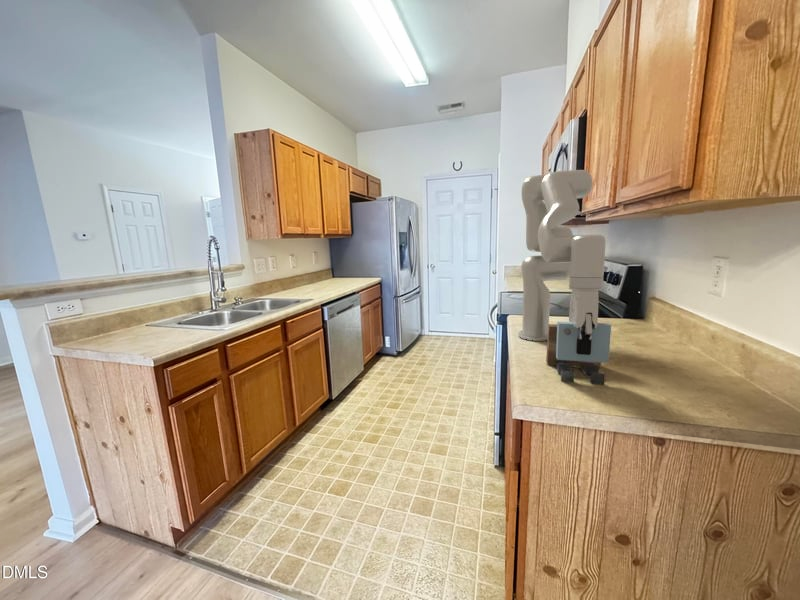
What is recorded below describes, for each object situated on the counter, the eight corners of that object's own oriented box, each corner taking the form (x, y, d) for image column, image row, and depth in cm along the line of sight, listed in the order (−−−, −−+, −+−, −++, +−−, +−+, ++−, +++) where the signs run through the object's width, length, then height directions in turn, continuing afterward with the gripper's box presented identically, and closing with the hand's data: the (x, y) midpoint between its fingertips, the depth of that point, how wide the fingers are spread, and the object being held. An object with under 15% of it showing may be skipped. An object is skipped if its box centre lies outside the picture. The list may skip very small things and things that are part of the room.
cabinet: (546, 361, 100) (547, 323, 98) (597, 364, 96) (599, 325, 94) (547, 365, 97) (549, 326, 95) (600, 368, 93) (603, 328, 91)
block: (555, 356, 89) (557, 321, 87) (605, 359, 85) (608, 323, 83) (558, 361, 85) (559, 324, 84) (610, 364, 82) (612, 326, 80)
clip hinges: (555, 365, 96) (555, 356, 96) (592, 368, 93) (593, 358, 93) (561, 381, 86) (561, 370, 85) (604, 384, 83) (605, 373, 82)
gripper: (564, 280, 91) (561, 342, 94) (576, 287, 76) (572, 361, 79) (594, 280, 89) (590, 344, 92) (612, 287, 74) (607, 363, 77)
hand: (582, 351), depth 85 cm, fingers closed on block, 2 cm apart
